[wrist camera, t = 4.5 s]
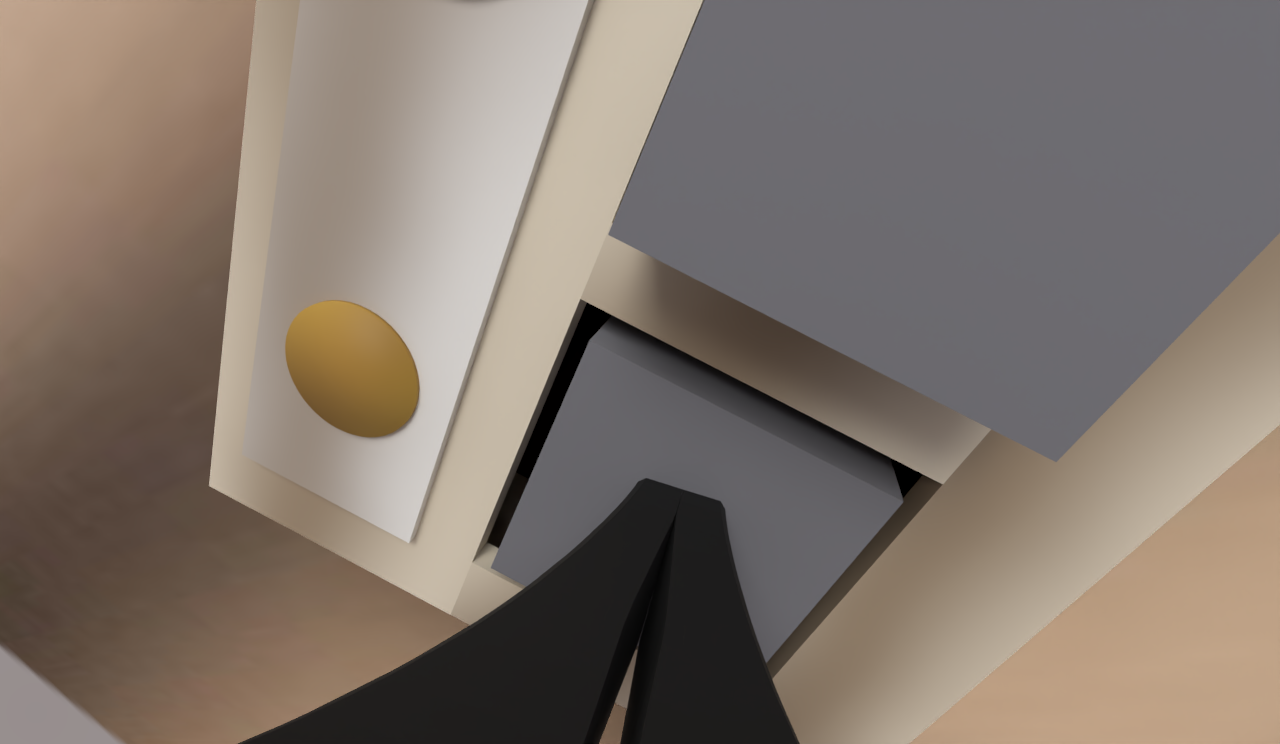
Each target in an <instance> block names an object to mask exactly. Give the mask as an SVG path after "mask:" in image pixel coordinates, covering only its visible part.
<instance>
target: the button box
mask: <svg viewBox="0 0 1280 744" xmlns="http://www.w3.org/2000/svg"><path fill="white" fill-rule="evenodd" d="M704 1H705V0H256V9H255V19H254V29H253V39H252V50H251V60H250V70H249V81H248V91H247V101H246V111H245V122H244V132H243V142H242V152H241V163H240V173H239V183H238V194H237V204H236V214H235V224H234V235H233V245H232V255H231V265H230V276H229V286H228V296H227V307H226V317H225V327H224V337H223V348H222V358H221V368H220V378H219V389H218V399H217V409H216V420H215V430H214V440H213V450H212V461H211V471H210V481H209V486H210V487H212V488H214V489H216V490H218V491H220V492H222V493H223V494H225V495H227V496H229V497H231V498H233V499H235V500H237V501H238V502H240V503H242V504H244V505H246V506H248V507H250V508H252V509H253V510H255V511H257V512H259V513H261V514H263V515H265V516H266V517H268V518H270V519H272V520H274V521H276V522H278V523H280V524H281V525H283V526H285V527H287V528H289V529H291V530H293V531H295V532H296V533H298V534H300V535H302V536H304V537H306V538H308V539H310V540H311V541H313V542H315V543H317V544H319V545H321V546H323V547H325V548H326V549H328V550H330V551H332V552H334V553H336V554H338V555H339V556H341V557H343V558H345V559H347V560H349V561H351V562H353V563H354V564H356V565H358V566H360V567H362V568H364V569H366V570H368V571H369V572H371V573H373V574H375V575H377V576H379V577H381V578H383V579H384V580H386V581H388V582H390V583H392V584H394V585H396V586H398V587H399V588H401V589H403V590H405V591H407V592H409V593H411V594H412V595H414V596H416V597H418V598H420V599H422V600H424V601H426V602H427V603H429V604H431V605H433V606H435V607H437V608H439V609H441V610H442V611H444V612H446V613H448V614H450V615H452V616H454V617H456V618H457V619H459V620H461V621H463V622H465V623H467V624H469V625H471V624H473V623H474V622H476V621H478V620H479V619H481V618H482V617H484V616H485V615H487V614H488V613H490V612H491V611H493V610H494V609H496V608H497V607H499V606H500V605H501V604H503V603H504V602H506V601H507V600H509V599H510V598H511V597H513V596H514V595H516V594H517V593H518V592H520V591H521V590H522V589H524V588H525V587H526V586H524V585H522V584H520V583H518V582H516V581H514V580H512V579H511V578H509V577H507V576H505V575H503V574H501V573H499V572H497V571H496V570H494V569H492V568H491V566H492V563H493V561H494V559H495V556H496V554H497V552H498V549H499V547H500V545H501V543H502V540H503V538H504V536H505V533H506V531H507V529H508V526H509V524H510V522H511V520H512V517H513V515H514V513H515V510H516V508H517V506H518V503H519V501H520V499H521V497H522V494H523V492H524V490H525V487H526V485H527V483H528V480H529V479H528V478H526V477H524V476H522V475H520V474H518V473H516V471H517V468H518V466H519V464H520V461H521V459H522V456H523V454H524V452H525V449H526V447H527V444H528V442H529V440H530V437H531V435H532V432H533V430H534V428H535V425H536V423H537V420H538V418H539V416H540V413H541V411H542V409H543V406H544V404H545V401H546V399H547V397H548V394H549V392H550V389H551V387H552V385H553V382H554V380H555V377H556V375H557V373H558V370H559V368H560V365H561V363H562V361H563V358H564V356H565V354H566V351H567V349H568V346H569V344H570V342H571V339H572V337H573V334H574V332H575V330H576V327H577V325H578V322H579V320H580V318H581V315H582V313H583V310H584V308H585V306H586V303H589V304H591V305H593V306H595V307H597V308H599V309H601V310H603V311H605V312H607V313H609V314H611V315H613V316H615V317H617V318H619V319H621V320H623V321H624V322H626V323H628V324H630V325H632V326H634V327H636V328H638V329H640V330H642V331H644V332H646V333H648V334H650V335H652V336H654V337H656V338H658V339H660V340H662V341H664V342H665V343H667V344H669V345H671V346H673V347H675V348H677V349H679V350H681V351H683V352H685V353H687V354H689V355H691V356H693V357H695V358H697V359H699V360H701V361H703V362H705V363H706V364H708V365H710V366H712V367H714V368H716V369H718V370H720V371H722V372H724V373H726V374H728V375H730V376H732V377H734V378H736V379H738V380H740V381H742V382H744V383H746V384H748V385H749V386H751V387H753V388H755V389H757V390H759V391H761V392H763V393H765V394H767V395H769V396H771V397H773V398H775V399H777V400H779V401H781V402H783V403H785V404H787V405H789V406H790V407H792V408H794V409H796V410H798V411H800V412H802V413H804V414H806V415H808V416H810V417H812V418H814V419H816V420H818V421H820V422H822V423H824V424H826V425H828V426H830V427H831V428H833V429H835V430H837V431H839V432H841V433H843V434H845V435H847V436H849V437H851V438H853V439H855V440H857V441H859V442H861V443H863V444H865V445H867V446H869V447H871V448H872V449H874V450H876V451H878V452H880V453H882V454H884V455H886V456H888V457H890V458H892V459H894V460H896V461H898V462H900V463H902V464H904V465H906V466H908V467H910V468H912V469H913V470H915V471H917V472H919V473H921V474H923V475H922V476H921V478H920V479H919V480H918V481H917V482H916V484H915V485H914V486H913V487H912V488H911V489H910V491H909V492H908V493H907V494H906V495H905V497H904V498H903V501H904V502H903V503H902V504H901V506H900V507H899V508H898V509H897V510H896V512H895V513H894V514H893V515H892V516H891V517H890V519H889V520H888V521H887V522H886V523H885V524H884V526H883V527H882V528H881V529H880V530H879V531H878V533H877V534H876V535H875V536H874V537H873V539H872V540H871V541H870V542H869V543H868V544H867V546H866V547H865V548H864V549H863V550H862V551H861V553H860V554H859V555H858V556H857V557H856V558H855V560H854V561H853V562H852V563H851V564H850V566H849V567H848V568H847V569H846V570H845V571H844V573H843V574H842V575H841V576H840V577H839V578H838V580H837V581H836V582H835V583H834V584H833V585H832V587H831V588H830V589H829V590H828V591H827V593H826V594H825V595H824V596H823V597H822V598H821V600H820V601H819V602H818V603H817V604H816V605H815V607H814V608H813V609H812V610H811V611H810V613H809V614H808V615H807V616H806V617H805V618H804V620H803V621H802V622H801V623H800V624H799V625H798V627H797V628H796V629H795V630H794V631H793V632H792V634H791V635H790V636H789V637H788V638H787V640H786V641H785V642H784V643H783V644H782V645H781V647H780V648H779V649H778V650H777V651H776V652H775V654H774V655H773V656H772V657H771V658H770V659H769V661H768V662H767V663H766V664H767V667H768V670H769V672H770V675H771V677H772V680H773V683H774V685H775V688H776V690H777V693H778V695H779V697H780V700H781V702H782V705H783V707H784V709H785V712H786V714H787V716H788V718H789V720H790V723H791V725H792V727H793V729H794V732H795V734H796V736H797V738H798V741H799V743H800V744H909V743H910V742H912V741H913V740H914V739H915V738H916V737H917V736H918V735H920V734H921V733H922V732H923V731H924V730H925V729H927V728H928V727H929V726H930V725H931V724H932V723H934V722H935V721H936V720H937V719H938V718H939V717H941V716H942V715H943V714H944V713H945V712H946V711H948V710H949V709H950V708H951V707H952V706H953V705H954V704H956V703H957V702H958V701H959V700H960V699H961V698H963V697H964V696H965V695H966V694H967V693H968V692H970V691H971V690H972V689H973V688H974V687H975V686H977V685H978V684H979V683H980V682H981V681H982V680H984V679H985V678H986V677H987V676H988V675H989V674H990V673H992V672H993V671H994V670H995V669H996V668H997V667H999V666H1000V665H1001V664H1002V663H1003V662H1004V661H1006V660H1007V659H1008V658H1009V657H1010V656H1011V655H1013V654H1014V653H1015V652H1016V651H1017V650H1018V649H1020V648H1021V647H1022V646H1023V645H1024V644H1025V643H1027V642H1028V641H1029V640H1030V639H1031V638H1032V637H1033V636H1035V635H1036V634H1037V633H1038V632H1039V631H1040V630H1042V629H1043V628H1044V627H1045V626H1046V625H1047V624H1049V623H1050V622H1051V621H1052V620H1053V619H1054V618H1056V617H1057V616H1058V615H1059V614H1060V613H1061V612H1063V611H1064V610H1065V609H1066V608H1067V607H1068V606H1069V605H1071V604H1072V603H1073V602H1074V601H1075V600H1076V599H1078V598H1079V597H1080V596H1081V595H1082V594H1083V593H1085V592H1086V591H1087V590H1088V589H1089V588H1090V587H1092V586H1093V585H1094V584H1095V583H1096V582H1097V581H1099V580H1100V579H1101V578H1102V577H1103V576H1104V575H1105V574H1107V573H1108V572H1109V571H1110V570H1111V569H1112V568H1114V567H1115V566H1116V565H1117V564H1118V563H1119V562H1121V561H1122V560H1123V559H1124V558H1125V557H1126V556H1128V555H1129V554H1130V553H1131V552H1132V551H1133V550H1135V549H1136V548H1137V547H1138V546H1139V545H1140V544H1141V543H1143V542H1144V541H1145V540H1146V539H1147V538H1148V537H1150V536H1151V535H1152V534H1153V533H1154V532H1155V531H1157V530H1158V529H1159V528H1160V527H1161V526H1162V525H1164V524H1165V523H1166V522H1167V521H1168V520H1169V519H1171V518H1172V517H1173V516H1174V515H1175V514H1176V513H1177V512H1179V511H1180V510H1181V509H1182V508H1183V507H1184V506H1186V505H1187V504H1188V503H1189V502H1190V501H1191V500H1193V499H1194V498H1195V497H1196V496H1197V495H1198V494H1200V493H1201V492H1202V491H1203V490H1204V489H1205V488H1207V487H1208V486H1209V485H1210V484H1211V483H1212V482H1213V481H1215V480H1216V479H1217V478H1218V477H1219V476H1220V475H1222V474H1223V473H1224V472H1225V471H1226V470H1227V469H1229V468H1230V467H1231V466H1232V465H1233V464H1234V463H1236V462H1237V461H1238V460H1239V459H1240V458H1241V457H1243V456H1244V455H1245V454H1246V453H1247V452H1248V451H1250V450H1251V449H1252V448H1253V447H1254V446H1255V445H1256V444H1258V443H1259V442H1260V441H1261V440H1262V439H1263V438H1265V437H1266V436H1267V435H1268V434H1269V433H1270V432H1272V431H1273V430H1274V429H1275V428H1276V427H1277V426H1279V425H1280V233H1279V234H1278V235H1277V236H1276V237H1275V238H1274V239H1273V240H1272V241H1271V242H1270V244H1269V245H1268V246H1267V247H1266V248H1265V249H1264V250H1263V251H1262V252H1261V253H1260V254H1259V255H1258V256H1257V257H1256V258H1255V259H1254V260H1253V261H1252V262H1251V263H1250V264H1249V265H1248V266H1247V267H1246V268H1245V269H1244V270H1243V271H1242V272H1241V273H1240V274H1239V275H1238V276H1237V277H1236V278H1235V279H1234V280H1233V281H1232V282H1231V284H1230V285H1229V286H1228V287H1227V288H1226V289H1225V290H1224V291H1223V292H1222V293H1221V294H1220V295H1219V296H1218V297H1217V298H1216V299H1215V300H1214V301H1213V302H1212V303H1211V304H1210V305H1209V306H1208V307H1207V308H1206V309H1205V310H1204V311H1203V312H1202V313H1201V314H1200V315H1199V316H1198V317H1197V318H1196V319H1195V320H1194V321H1193V322H1192V324H1191V325H1190V326H1189V327H1188V328H1187V329H1186V330H1185V331H1184V332H1183V333H1182V334H1181V335H1180V336H1179V337H1178V338H1177V339H1176V340H1175V341H1174V342H1173V343H1172V344H1171V345H1170V346H1169V347H1168V348H1167V349H1166V350H1165V351H1164V352H1163V353H1162V354H1161V355H1160V356H1159V357H1158V358H1157V359H1156V360H1155V361H1154V362H1153V364H1152V365H1151V366H1150V367H1149V368H1148V369H1147V370H1146V371H1145V372H1144V373H1143V374H1142V375H1141V376H1140V377H1139V378H1138V379H1137V380H1136V381H1135V382H1134V383H1133V384H1132V385H1131V386H1130V387H1129V388H1128V389H1127V390H1126V391H1125V392H1124V393H1123V394H1122V395H1121V396H1120V397H1119V398H1118V399H1117V400H1116V401H1115V403H1114V404H1113V405H1112V406H1111V407H1110V408H1109V409H1108V410H1107V411H1106V412H1105V413H1104V414H1103V415H1102V416H1101V417H1100V418H1099V419H1098V420H1097V421H1096V422H1095V423H1094V424H1093V425H1092V426H1091V427H1090V428H1089V429H1088V430H1087V431H1086V432H1085V433H1084V434H1083V435H1082V436H1081V437H1080V438H1079V439H1078V440H1077V441H1076V443H1075V444H1074V445H1073V446H1072V447H1071V448H1070V449H1069V450H1068V451H1067V452H1066V453H1065V454H1064V455H1063V456H1062V457H1061V458H1060V459H1059V460H1058V461H1057V462H1055V461H1053V460H1051V459H1049V458H1047V457H1045V456H1043V455H1041V454H1039V453H1037V452H1035V451H1033V450H1031V449H1029V448H1027V447H1025V446H1023V445H1021V444H1019V443H1017V442H1015V441H1013V440H1011V439H1009V438H1007V437H1005V436H1003V435H1001V434H999V433H998V432H996V431H994V430H992V429H990V428H988V427H986V426H984V425H982V424H980V423H978V422H976V421H974V420H972V419H970V418H968V417H966V416H964V415H962V414H960V413H958V412H956V411H954V410H952V409H950V408H948V407H946V406H944V405H942V404H940V403H938V402H936V401H934V400H933V399H931V398H929V397H927V396H925V395H923V394H921V393H919V392H917V391H915V390H913V389H911V388H909V387H907V386H905V385H903V384H901V383H899V382H897V381H895V380H893V379H891V378H889V377H887V376H885V375H883V374H881V373H879V372H877V371H875V370H873V369H871V368H869V367H867V366H866V365H864V364H862V363H860V362H858V361H856V360H854V359H852V358H850V357H848V356H846V355H844V354H842V353H840V352H838V351H836V350H834V349H832V348H830V347H828V346H826V345H824V344H822V343H820V342H818V341H816V340H814V339H812V338H810V337H808V336H806V335H804V334H802V333H801V332H799V331H797V330H795V329H793V328H791V327H789V326H787V325H785V324H783V323H781V322H779V321H777V320H775V319H773V318H771V317H769V316H767V315H765V314H763V313H761V312H759V311H757V310H755V309H753V308H751V307H749V306H747V305H745V304H743V303H741V302H739V301H737V300H736V299H734V298H732V297H730V296H728V295H726V294H724V293H722V292H720V291H718V290H716V289H714V288H712V287H710V286H708V285H706V284H704V283H702V282H700V281H698V280H696V279H694V278H692V277H690V276H688V275H686V274H684V273H682V272H680V271H678V270H676V269H674V268H672V267H670V266H669V265H667V264H665V263H663V262H661V261H659V260H657V259H655V258H653V257H651V256H649V255H647V254H645V253H643V252H641V251H639V250H637V249H635V248H633V247H631V246H629V245H627V244H625V243H623V242H621V241H619V240H617V239H615V238H613V237H611V236H609V235H608V234H609V231H610V229H611V226H612V224H613V222H614V219H615V217H616V214H617V212H618V209H619V207H620V205H621V202H622V200H623V197H624V195H625V192H626V190H627V188H628V185H629V183H630V180H631V178H632V175H633V173H634V171H635V168H636V166H637V163H638V161H639V158H640V156H641V154H642V151H643V149H644V146H645V144H646V141H647V139H648V137H649V134H650V132H651V129H652V127H653V124H654V122H655V120H656V117H657V115H658V112H659V110H660V107H661V105H662V103H663V100H664V98H665V95H666V93H667V90H668V88H669V86H670V83H671V81H672V78H673V76H674V73H675V71H676V69H677V66H678V64H679V61H680V59H681V56H682V54H683V52H684V49H685V47H686V44H687V42H688V40H689V37H690V35H691V32H692V30H693V27H694V25H695V23H696V20H697V18H698V15H699V13H700V10H701V8H702V6H703V3H704ZM637 651H638V646H637V647H636V650H635V652H634V655H633V657H632V660H631V663H630V665H629V668H628V670H627V673H626V675H625V678H624V680H623V683H622V686H621V688H620V691H619V693H618V696H617V698H616V701H615V703H617V704H618V705H620V706H622V707H624V708H626V709H627V705H628V700H629V694H630V689H631V683H632V678H633V673H634V667H635V662H636V656H637Z"/></svg>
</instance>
